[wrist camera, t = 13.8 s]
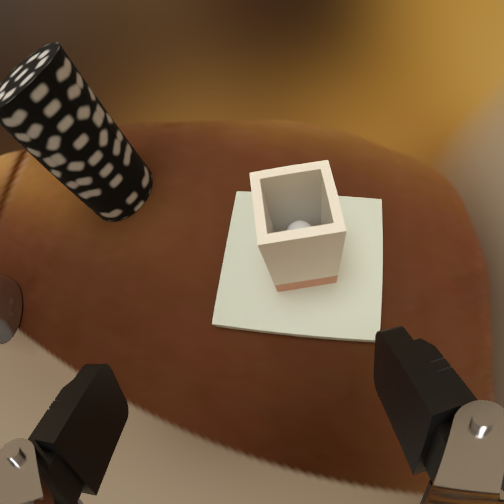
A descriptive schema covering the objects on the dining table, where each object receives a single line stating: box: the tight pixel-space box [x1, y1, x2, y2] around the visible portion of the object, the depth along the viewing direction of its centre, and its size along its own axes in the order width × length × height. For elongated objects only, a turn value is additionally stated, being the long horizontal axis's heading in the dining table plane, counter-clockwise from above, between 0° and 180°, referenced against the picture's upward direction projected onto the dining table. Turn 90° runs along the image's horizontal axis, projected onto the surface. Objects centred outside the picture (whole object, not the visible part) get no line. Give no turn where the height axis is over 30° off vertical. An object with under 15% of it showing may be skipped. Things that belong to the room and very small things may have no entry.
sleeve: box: [250, 160, 346, 292], centre depth 23 cm, size 5×5×10 cm
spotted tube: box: [0, 42, 152, 221], centre depth 28 cm, size 8×8×20 cm
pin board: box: [212, 191, 383, 342], centre depth 26 cm, size 14×13×8 cm
